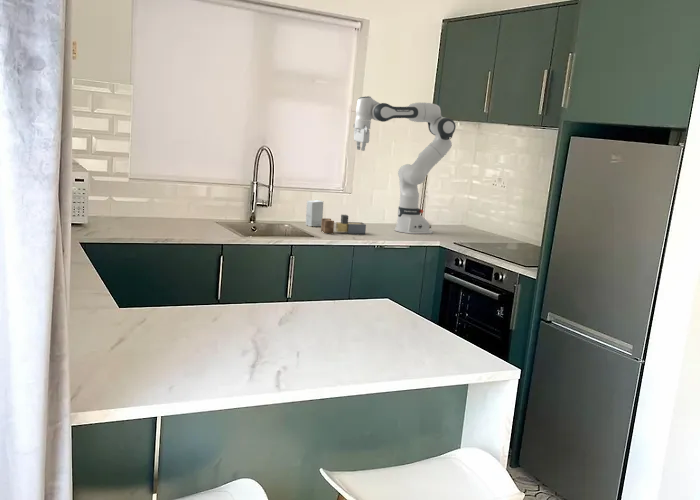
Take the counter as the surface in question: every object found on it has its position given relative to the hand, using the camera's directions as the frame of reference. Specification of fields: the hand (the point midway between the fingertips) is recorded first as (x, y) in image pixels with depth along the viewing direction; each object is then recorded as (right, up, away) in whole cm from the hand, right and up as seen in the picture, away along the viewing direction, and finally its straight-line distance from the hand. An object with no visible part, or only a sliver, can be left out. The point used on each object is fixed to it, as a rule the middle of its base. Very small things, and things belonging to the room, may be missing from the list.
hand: (360, 150), depth 402 cm
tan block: (-7, -47, -5) cm, 48 cm away
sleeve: (-3, -47, -4) cm, 47 cm away
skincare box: (-27, -43, +12) cm, 52 cm away
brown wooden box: (-19, -47, -8) cm, 51 cm away
